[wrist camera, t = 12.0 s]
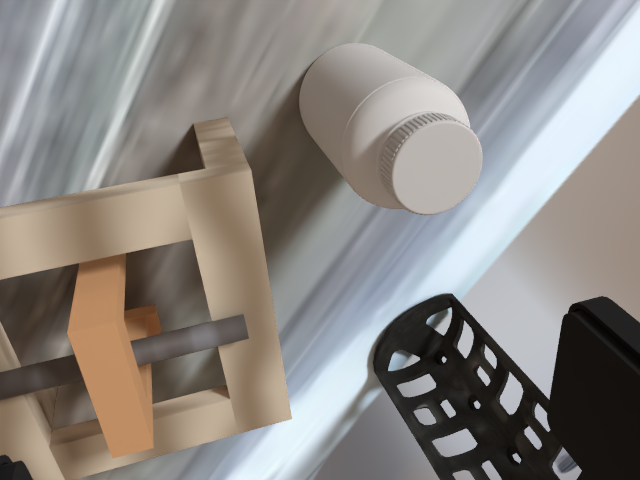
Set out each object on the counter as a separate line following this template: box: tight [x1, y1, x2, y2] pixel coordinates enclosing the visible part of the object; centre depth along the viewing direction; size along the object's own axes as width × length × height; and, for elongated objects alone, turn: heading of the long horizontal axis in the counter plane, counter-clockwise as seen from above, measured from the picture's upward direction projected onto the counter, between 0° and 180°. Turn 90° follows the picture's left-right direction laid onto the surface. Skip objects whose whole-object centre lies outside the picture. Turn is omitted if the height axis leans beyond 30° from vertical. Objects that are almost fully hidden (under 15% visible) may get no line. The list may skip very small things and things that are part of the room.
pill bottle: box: [299, 43, 482, 215], centre depth 36 cm, size 8×8×15 cm
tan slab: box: [67, 253, 161, 459], centre depth 38 cm, size 4×10×13 cm, turn 6°
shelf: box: [0, 118, 292, 480], centre depth 39 cm, size 20×20×12 cm
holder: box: [373, 294, 589, 480], centre depth 48 cm, size 11×8×20 cm
